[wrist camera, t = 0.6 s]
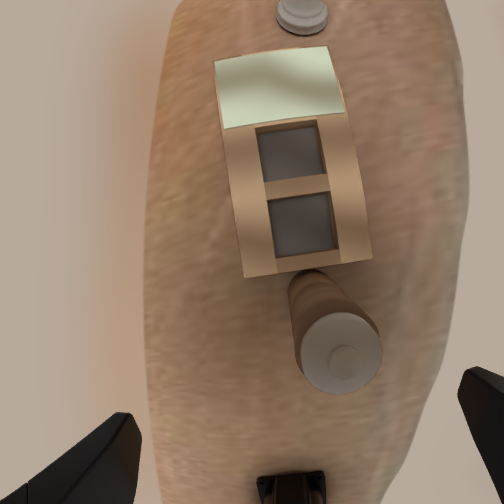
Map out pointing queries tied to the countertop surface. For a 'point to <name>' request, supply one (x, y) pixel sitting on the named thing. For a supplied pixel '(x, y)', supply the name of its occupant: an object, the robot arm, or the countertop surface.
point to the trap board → (290, 161)
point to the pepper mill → (331, 335)
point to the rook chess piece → (302, 15)
